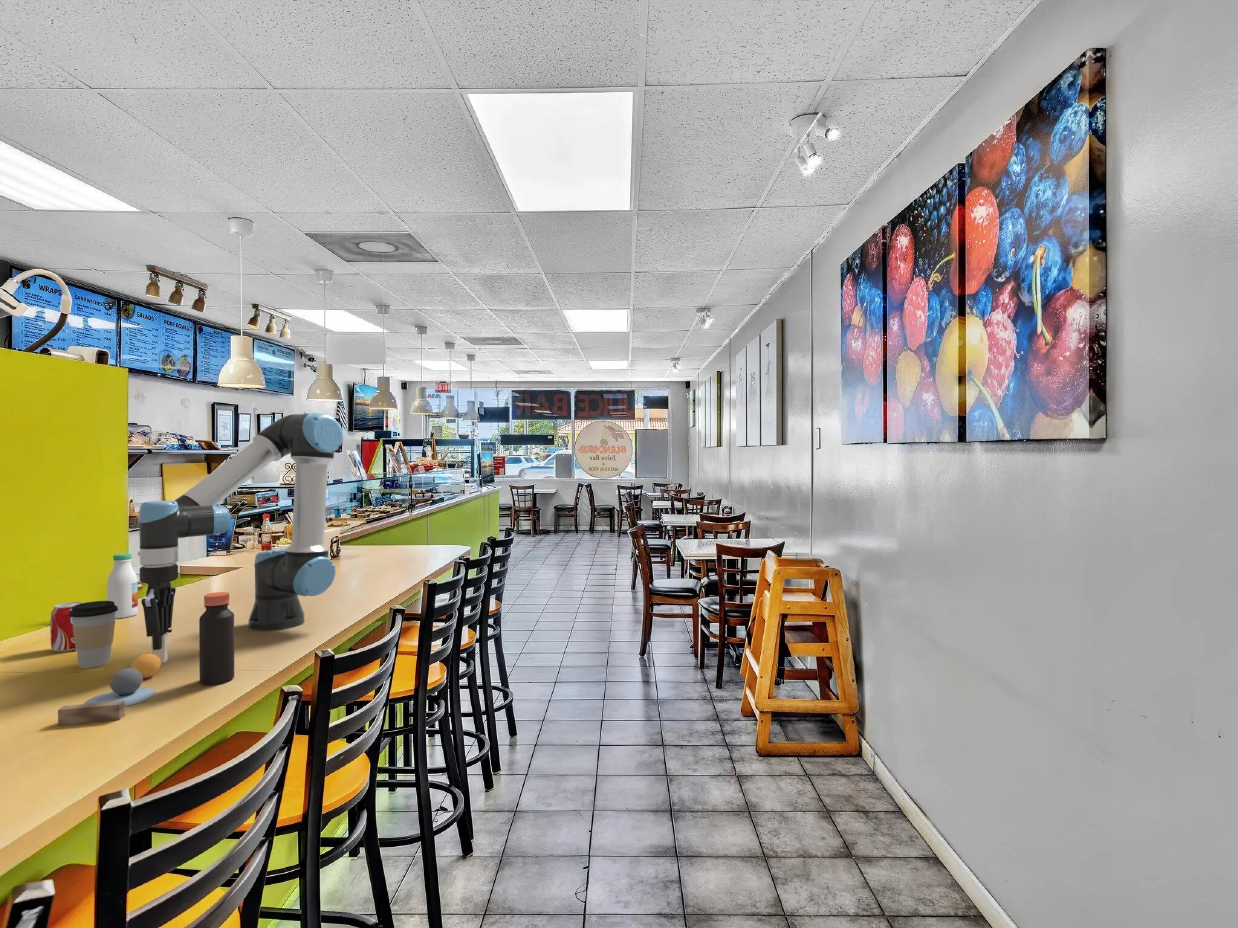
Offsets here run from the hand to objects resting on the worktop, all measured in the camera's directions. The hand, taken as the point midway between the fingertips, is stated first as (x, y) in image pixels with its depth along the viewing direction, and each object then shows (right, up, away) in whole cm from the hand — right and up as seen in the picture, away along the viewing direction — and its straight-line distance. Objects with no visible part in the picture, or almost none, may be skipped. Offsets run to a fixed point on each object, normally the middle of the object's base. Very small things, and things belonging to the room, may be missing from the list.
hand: (159, 661), depth 150 cm
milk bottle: (-48, -1, +49) cm, 69 cm away
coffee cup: (-19, -2, +3) cm, 19 cm away
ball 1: (+4, +1, -16) cm, 16 cm away
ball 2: (+1, +1, -6) cm, 6 cm away
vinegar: (+19, -2, -7) cm, 20 cm away
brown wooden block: (+8, -2, -29) cm, 30 cm away
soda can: (-35, -2, +15) cm, 38 cm away
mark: (+5, -2, -18) cm, 19 cm away
